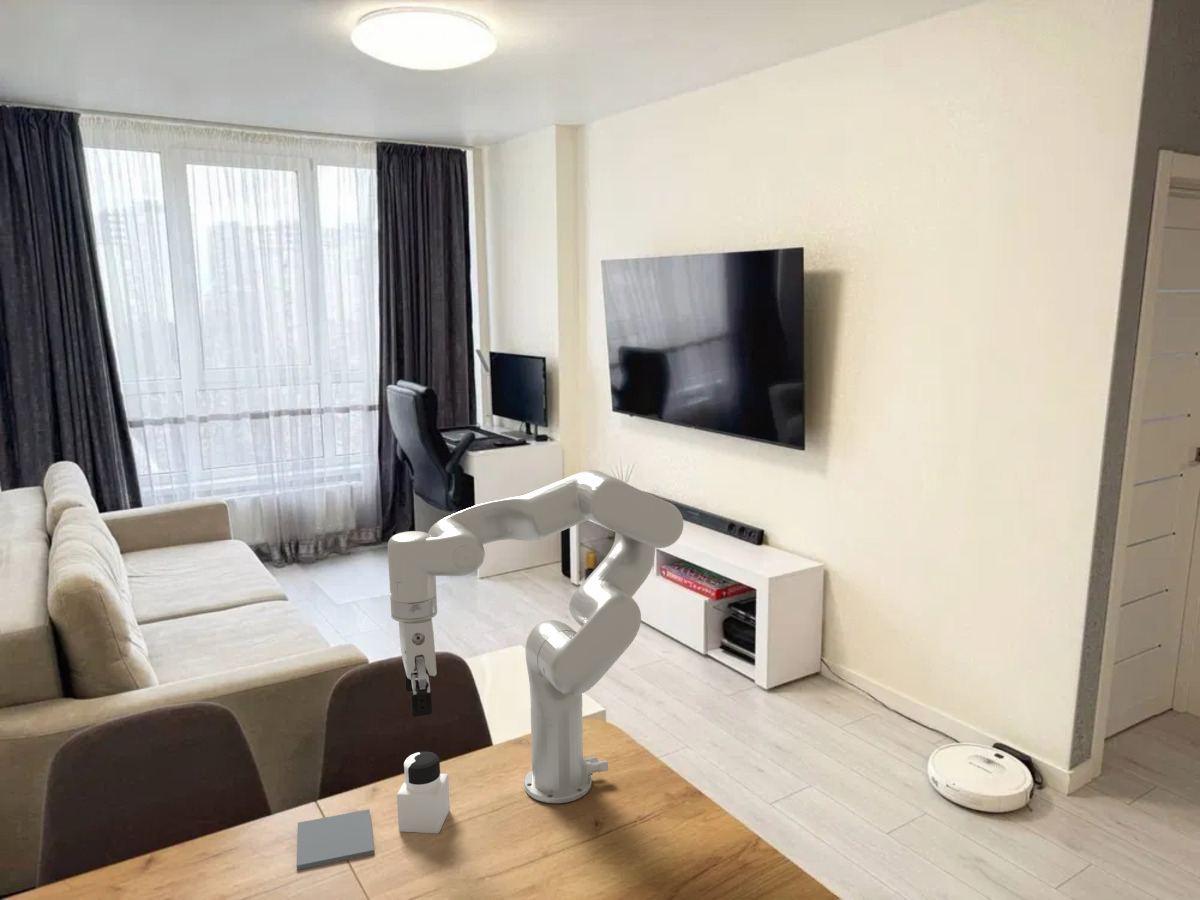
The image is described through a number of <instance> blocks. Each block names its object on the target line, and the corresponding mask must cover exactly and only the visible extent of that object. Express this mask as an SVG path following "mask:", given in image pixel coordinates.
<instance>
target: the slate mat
mask: <svg viewBox="0 0 1200 900" xmlns="http://www.w3.org/2000/svg"><path fill="white" fill-rule="evenodd" d="M371 820H372V819H371V812H370V808H368V809H363V810H358V811H352V812H347V813H343V814H342V813H341V814H337V815H331V816H327V817H321V818H316V819H310V820H305V821H300V822H297V835H296V836H297V838H296V843H297V844H296V871H298V870H299V871H300V870H304V869H309V868H314V867H320V866H323V865H324V866H325V865H329V864H333V863H337V862H343V861H347V860H348V861H349V860H352V859H358V858H362V857H367V856H372V855H375V847H374V839H373V837H374V836H373V831H372V829H373V828H372V821H371Z"/></svg>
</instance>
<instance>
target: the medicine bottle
mask: <svg viewBox="0 0 1200 900" xmlns="http://www.w3.org/2000/svg"><path fill="white" fill-rule="evenodd" d="M440 763H441V760H440V757H439V755H437V754H436V753H435V752H431V751H418V752H414V753H413V754H410V755H409V756H408V757H406V759H405V760H404V762H403V771H404V781H403V783H402V785H401V787H400V788H399V790H398V792H397V793H396V803H397V804H396V805H397V820H398V822H397V823H398V831H399V832H401V833H402V832H403V833H416V834H417V833H419V834H420V833H421V834H422V833H423V834H440V832H441V829H442V827H443V825H444V823H445V822H446V821H445V820H446V819H447V817H448V814H449V812H450V809H451V807H450V805H451V804H450V786H449V785H450V784H449V775H448V774H447V773H441V764H440Z"/></svg>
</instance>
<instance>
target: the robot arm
mask: <svg viewBox="0 0 1200 900" xmlns="http://www.w3.org/2000/svg"><path fill="white" fill-rule="evenodd" d="M587 521H593V522H595V523H596V524H599V525H600V526H602V527H604V528H606V529H608V530H611V531H612V532H615V535H614V540H613V541H614V542H613V543H612V546H611V548H610V550H609V552H608V553H607V555H606V556H605V557H604V558H603V560H602V561H601V562H600V563H599V564H598V566H596V567H595V569H594V570H593V571H592V572H591V573H590V574H589V575H588V576H587V577H586V579H584V581H583V582H582V583H581V584H580V585H579V586H578V588H576V589H575V591H574V593H573V594H572V595H571V598H570V601H569V605H568V607H569V612H570V615H571V617H572V618H573V619H574V622H576V623H577V624H578V625H579V626H580V628H579V629H578V631H576V630H575V629H574V628H572V627H571V626H569V625H568V624H566V623H565V622H562V621H559V620H554V619H549V620H548V619H547V620H544V621H542V622H539V623H538V624H536V625H535V626H534V627H533V628H532V629H531V631H530V632H529V634H528V636H527V639H526V642H525V650H524V651H525V662H526V668H527V675H528V682H529V693H530V699H529V700H530V736H531V738H530V739H531V745H530V746H531V770H529V771H528V772H527V774H526V775H525V777H524V781H523V782H524V783H523V786H524V790H525V792H526V794H528V795H529V796H530V797H531V798H533V799H534V800H536V801H539V802H542V803H548V804H564V803H569V802H574V801H576V800H578V799H581V798H582V797H584V796H586V795H587V793H589V791H590V790H591V789H592V776H593V774H595V773H602V772H607V771H609V764H608V763H609V762H608V761H607V760H606V759H605V760H599V761H598V757H597V756H596V755H594V756H589V757H584V751H583V750H584V745H583V744H584V741H583V740H584V739H583V737H584V735H583V733H584V732H583V694H584V693H586V692H588V691H589V690H591V689H592V688H593V687H595V686H596V685H597V683H598V682H599V681H600V680H601V679H602V678H603V677H604V676H605V675H606V673H607V672H608V671H609V670H610V669H611V668H612V666H613V665H615V663H616V661H618V660H619V659H620V657H621V656H622V655H623V654H624V653H625V651H626V650H627V649H628V648H629V647H630V646H631V644H632V643H633V642H634V640H635V638H636V637H637V635H638V632H639V631H640V627H641V623H642V613H641V609H640V606H639V605H638V603H637V601H636V600H635V599H634V598H633V597H634V595H635V594H637V591H639V589H640V587H642V585H643V584H644V583H645V581H646V580H647V578H648V577H649V575H650V573H651V571H652V569H653V566H654V562H655V554H656V549H664V548H667V547H670V546H672V545H674V544H675V543H676V542H677V541H678V540H679V539H680V537H681V535H682V534H683V531H684V517H683V515H682V513H681V511H680V510H679V508H677V506H676V505H675V504H673V503H671V502H669V501H666V500H665V499H662V498H659V497H657V496H655V495H652V494H650V493H648V492H645V491H644V490H641V489H639V488H637V487H635V486H633V485H630V483H629V484H628V483H626V482H625V481H622V480H620V479H619V478H617V477H615V476H611V475H609V474H607V473H604V472H601V471H600V470H594V469H587V470H583V471H580V472H576V473H574V474H572V475H569V476H567V477H565V478H562V479H560V480H557V481H554V482H552V483H550V484H547V485H545V486H542V487H540V488H538V489H535V490H532V491H530V492H528V493H525V494H522V495H518V496H511V497H506V498H503V499H498V500H493V501H487V502H484V503H480V504H476V505H473V506H471V507H467V508H465V509H462V510H459V511H457V512H455V513H452V514H451V515H448V516H445V517H443V518H441V519H439V520H438V521H436V522H435V523H434V524H433V525H432V526H431V527H430V528H429V530H428V531H427V532H426V531H418V530H416V531H415V530H413V531H412V530H410V531H409V530H407V531H403V532H398V533H396V534H394V535H391V537H390V538H389V539H388V541H387V542H388V543H387V556H388V557H387V558H388V559H387V561H388V577H389V580H388V581H389V597H390V598H389V599H390V614H391V615H390V617H391V618H392V620H394V621H396V622H398V628H399V630H398V631H399V642H400V651H401V658H402V663H403V667H404V672H405V673H404V678H405V690H406V692H411V693H410V698H411V714H412V717H414V718H415V717H416V718H417V717H422V716H427V715H428V716H429V715H431V714H433V704H432V703H433V700H432V690H431V685H430V678H429V677H431V676H432V677H436V675H437V661H436V660H437V659H436V651H435V649H436V648H435V635H434V626H433V618H434V617H436V616H437V614H438V602H437V601H438V600H437V597H438V596H437V578H436V577H464V576H468V575H471V574H473V573H474V572H476V571H477V570H479V569H480V567H482V565H483V564H484V559H485V556H486V554H485V553H486V552H485V547H484V545H486V544H489V543H493V542H499V541H505V540H509V541H510V540H513V541H514V540H515V541H525V542H532V541H542V540H544V539H547V538H550V537H552V536H554V535H555V534H558V533H560V532H563V531H565V530H567V529H570V528H573V527H574V526H578V525H579V524H582V523H584V522H587Z"/></svg>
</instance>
